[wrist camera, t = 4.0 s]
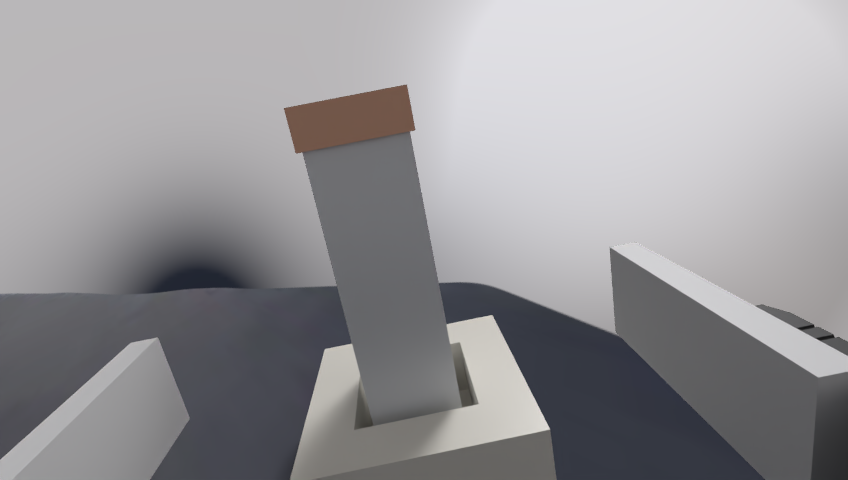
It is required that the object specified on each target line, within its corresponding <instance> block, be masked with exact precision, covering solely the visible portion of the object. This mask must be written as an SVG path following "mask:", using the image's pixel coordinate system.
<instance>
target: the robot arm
mask: <svg viewBox="0 0 848 480" xmlns="http://www.w3.org/2000/svg"><path fill="white" fill-rule="evenodd" d="M610 258H611V272H612V286H613V301H614V315H615V327H616V333H617V334H618V335H619V336H620V337H621V338H622V339H623V340H624V341H625V342H626V343H627V344H628V345H629V346H630V347H631V348H633V349H634V350H635V351H636V352H637V353H638V354H639V355H640V356H641V357H642V358H643V359H644V360H645V361H646V362H647V363H648V364H649V365H650V366H651V367H652V368H653V369H654V370H655V371H656V372H657V373H658V374H659V375H660V376H661V377H662V378H663V379H664V380H665V381H666V382H667V383H668V384H669V385H670V386H671V387H672V388H673V389H674V390H675V391H676V392H677V393H678V394H679V395H680V396H681V397H682V398H683V399H684V400H685V401H686V402H687V403H688V404H689V405H690V406H691V407H692V408H693V409H694V410H695V411H696V412H697V413H699V414H700V415H701V416H702V417H703V418H704V419H705V420H706V421H707V422H708V423H709V424H710V425H711V426H712V427H713V428H714V429H715V430H716V431H717V432H718V433H719V434H720V435H721V436H722V437H723V438H724V439H725V440H726V441H727V442H728V443H729V444H730V445H731V446H732V447H733V448H734V449H735V450H736V451H737V452H738V453H739V454H740V455H741V456H742V457H743V458H744V459H745V460H746V461H747V462H748V463H749V464H750V465H751V466H752V467H753V468H754V469H755V470H756V471H757V472H758V473H759V474H760V475H761V476H762V477H763V478H764V479H766V480H848V342H847V341H845V340H843V339H841V338H839V337H837V338H835V337H834V335H833V334H831V333H830V332H828V331H826V330H824V329H821V328H819V327H814V324H812V323H810V322H808V321H806V320H804V319H802V318H800V317H798V316H796V315H794V314H792V313H790V312H786V311H783V310H779V309H775V308H772V307H769V306H765V305H757V306H754V305H752V304H750V303H748V302H746V301H745V300H743V299H741V298H739V297H737V296H735V295H733V294H731V293H729V292H728V291H726V290H724V289H722V288H720V287H718V286H717V285H715V284H713V283H711V282H709V281H707V280H705V279H703V278H702V277H700V276H698V275H696V274H694V273H692V272H691V271H689V270H687V269H685V268H683V267H681V266H679V265H678V264H676V263H674V262H672V261H670V260H668V259H666V258H664V257H663V256H661V255H659V254H657V253H655V252H653V251H651V250H650V249H648V248H646V247H644V246H642V245H640V244H638V243H637V242H633V243H628V244H623V245H618V246H613V247H610ZM189 419H190V418H189V415H188V413H187V410H186V408H185V405H184V403H183V400H182V398H181V395H180V393H179V390H178V387H177V385H176V382H175V380H174V377H173V375H172V372H171V370H170V367H169V365H168V362H167V360H166V357H165V355H164V352H163V350H162V347H161V344H160V342H159V339H158V338H153V339H148V340H143V341H138V342H133V343H130V344H129V345H128V346H127V347H126V348H125V349H124V350H122V351H121V352H120V353H119V354H118V355H117V356H116V357H115V358H114V359H112V360H111V361H110V362H109V363H108V364H107V365H106V366H105V367H103V368H102V369H101V370H100V371H99V372H98V373H97V374H96V375H94V376H93V377H92V378H91V379H90V380H89V381H88V382H87V383H86V384H84V385H83V386H82V387H81V388H80V389H79V390H78V391H77V392H75V393H74V394H73V395H72V396H71V397H70V398H69V399H68V400H67V401H65V402H64V403H63V404H62V405H61V406H60V407H59V408H58V409H56V410H55V411H54V412H53V413H52V414H51V415H50V416H49V417H48V418H46V419H45V420H44V421H43V422H42V423H41V424H40V425H39V426H37V427H36V428H35V429H34V430H33V431H32V432H31V433H30V434H29V435H27V436H26V437H25V438H24V439H23V440H22V441H21V442H20V443H18V444H17V445H16V446H15V447H14V448H13V449H12V450H11V451H10V452H8V453H7V454H6V455H5V456H4V457H3V458H2V459H1V460H0V480H150V479H151V477H152V476H153V474H154V472H155V471H156V469H157V468H158V466H159V465H160V463H161V462H162V460H163V459H164V457H165V456H166V454H167V453H168V451H169V449H170V448H171V446H172V445H173V443H174V442H175V440H176V439H177V437H178V436H179V434H180V433H181V431H182V430H183V428H184V427H185V425H186V423H187V422H188V420H189Z"/></svg>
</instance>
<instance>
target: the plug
mask: <svg viewBox="0 0 848 480" xmlns="http://www.w3.org/2000/svg"><path fill="white" fill-rule="evenodd" d="M284 110H285V114H286V118H287V121H288V125H289V129H290V133H291V137H292V140H293V144H294V148H295V152H296V153H301V152H303V156H304V160H305V164H306V168H307V172H308V176H309V179H310V183H311V187H312V191H313V195H314V199H315V202H316V206H317V210H318V214H319V218H320V222H321V226H322V229H323V233H324V237H325V241H326V245H327V249H328V253H329V257H330V260H331V264H332V268H333V272H334V276H335V280H336V284H337V287H338V291H339V295H340V299H341V303H342V307H343V311H344V314H345V318H346V322H347V326H348V330H349V334H350V338H351V341H352V345H353V349H354V353H355V357H356V361H357V365H358V368H359V372H360V376H361V380H362V384H363V388H364V392H365V395H366V399H367V403H368V407H369V411H370V415H371V419H372V422H373V426H376V425H381V424H386V423H390V422H395V421H400V420H405V419H410V418H415V417H419V416H424V415H429V414H434V413H439V412H443V411H448V410H453V409H458V408H462V404H461V399H460V394H459V388H458V383H457V378H456V372H455V367H454V362H453V357H452V351H451V346H450V341H449V336H448V330H447V325H446V320H445V315H444V309H443V304H442V299H441V293H440V288H439V283H438V278H437V272H436V268H435V263H434V257H433V252H432V246H431V241H430V236H429V230H428V226H427V220H426V215H425V209H424V204H423V199H422V193H421V189H420V183H419V178H418V172H417V168H416V162H415V157H414V152H413V146H412V141H411V136H410V131H414V130H415V126H414V121H413V115H412V110H411V105H410V99H409V94H408V89H407V85H403V86H397V87H391V88H386V89H381V90H376V91H371V92H366V93H360V94H355V95H350V96H345V97H340V98H335V99H330V100H324V101H319V102H314V103H309V104H303V105H298V106H293V107H288V108H284Z"/></svg>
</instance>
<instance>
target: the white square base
mask: <svg viewBox="0 0 848 480" xmlns="http://www.w3.org/2000/svg"><path fill="white" fill-rule="evenodd" d="M446 325H447V330H448V336H449V341H450V346H451V351H452V357H453V362H454V367H455V372H456V378H457V383H458V388H459V394H460V399H461V404H462V408H458V409H453V410H448V411H443V412H439V413H434V414H429V415H424V416H419V417H415V418H410V419H405V420H400V421H395V422H390V423H386V424H381V425H376V426H373V422H372V419H371V415H370V411H369V407H368V403H367V399H366V395H365V392H364V388H363V384H362V380H361V376H360V372H359V368H358V365H357V361H356V357H355V353H354V349H353V345H352V344H348V345H343V346H338V347H334V348H329V349H325V351H324V355H323V359H322V362H321V366H320V370H319V373H318V377H317V381H316V385H315V388H314V392H313V396H312V400H311V403H310V407H309V411H308V414H307V418H306V422H305V426H304V429H303V433H302V437H301V440H300V444H299V448H298V452H297V455H296V459H295V463H294V466H293V470H292V474H291V478H290V480H556V473H555V465H554V457H553V449H552V441H551V433H550V428H549V427H548V425H547V423H546V421H545V419H544V417H543V415H542V413H541V411H540V409H539V407H538V405H537V403H536V401H535V399H534V397H533V395H532V393H531V391H530V389H529V387H528V385H527V383H526V381H525V379H524V377H523V375H522V373H521V371H520V369H519V367H518V365H517V363H516V361H515V359H514V357H513V355H512V353H511V351H510V349H509V347H508V345H507V343H506V341H505V339H504V337H503V336H502V334H501V332H500V330H499V328H498V326H497V324H496V322H495V320H494V318H493V316H492V315H490V316H486V317H481V318H476V319H471V320H466V321H461V322H456V323H451V324H446Z"/></svg>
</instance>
